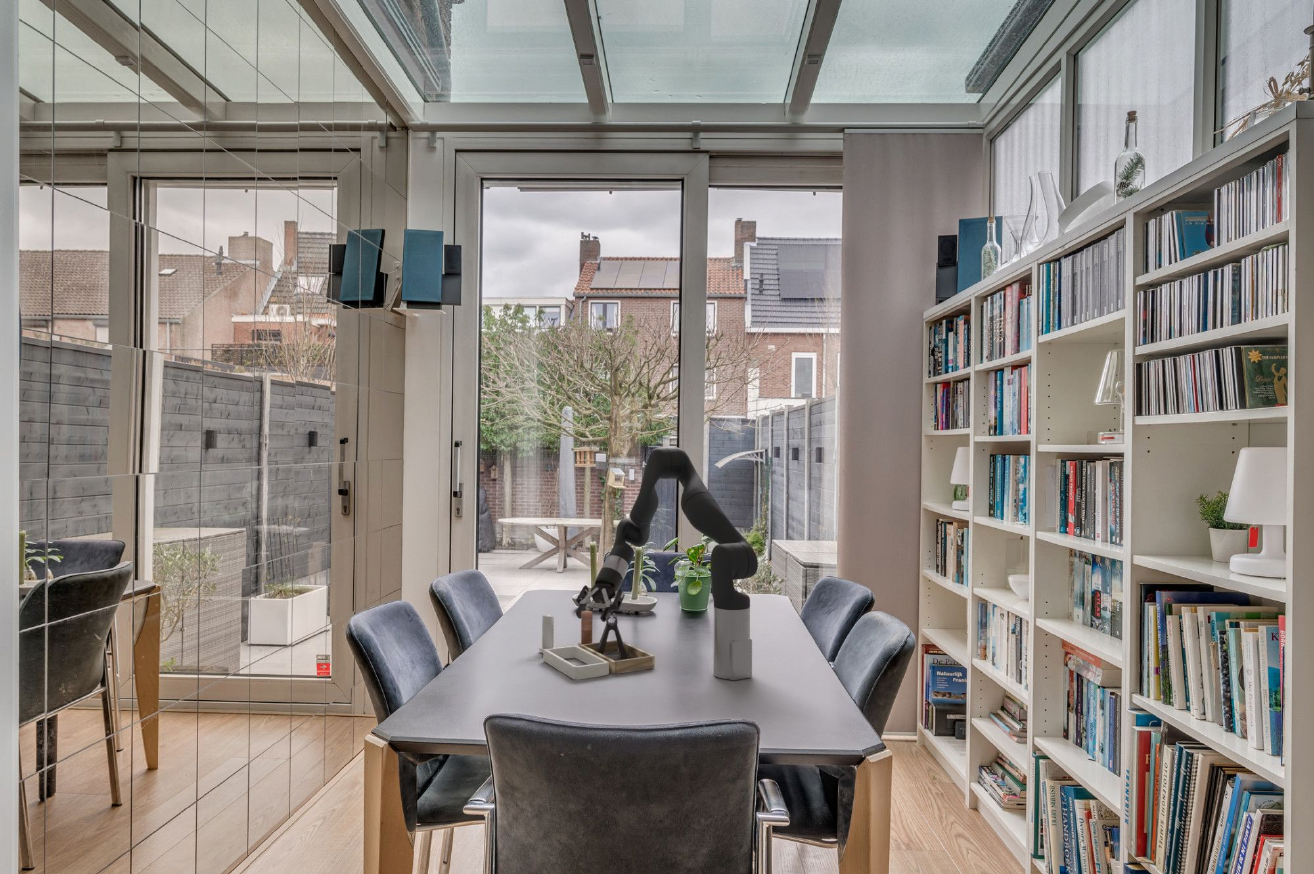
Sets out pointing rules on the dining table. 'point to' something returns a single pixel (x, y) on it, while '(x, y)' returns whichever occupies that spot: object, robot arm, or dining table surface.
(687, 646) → the dining table surface
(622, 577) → the robot arm
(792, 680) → the dining table surface
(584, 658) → the white frame
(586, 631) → the oak frame
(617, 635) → the dark metal pliers
